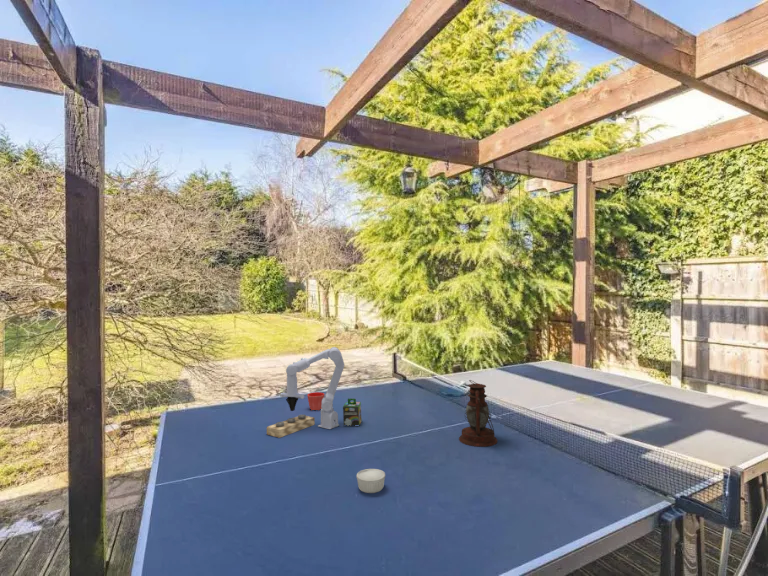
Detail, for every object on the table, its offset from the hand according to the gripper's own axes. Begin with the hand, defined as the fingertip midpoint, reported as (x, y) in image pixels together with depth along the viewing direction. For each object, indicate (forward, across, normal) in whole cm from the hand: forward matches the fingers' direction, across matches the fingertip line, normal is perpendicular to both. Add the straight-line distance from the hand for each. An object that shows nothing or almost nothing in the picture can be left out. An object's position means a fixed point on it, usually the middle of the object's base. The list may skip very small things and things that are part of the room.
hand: (292, 410), depth 238 cm
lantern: (+11, -100, -14) cm, 101 cm away
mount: (+10, 0, +2) cm, 10 cm away
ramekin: (+10, -70, +51) cm, 87 cm away
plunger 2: (+10, 0, +2) cm, 10 cm away
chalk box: (+10, -28, -18) cm, 35 cm away
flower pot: (+10, +8, -38) cm, 40 cm away
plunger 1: (+10, +2, +10) cm, 14 cm away
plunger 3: (+10, -2, -6) cm, 12 cm away
